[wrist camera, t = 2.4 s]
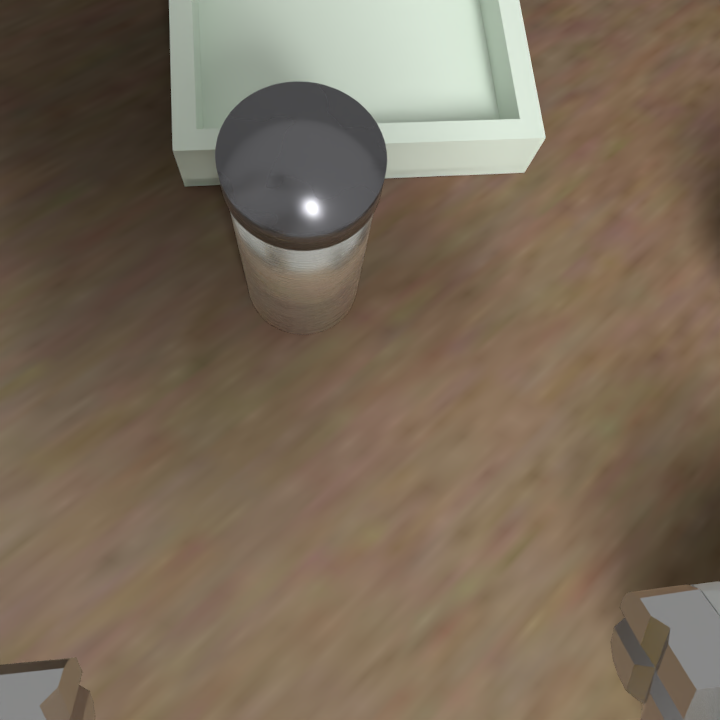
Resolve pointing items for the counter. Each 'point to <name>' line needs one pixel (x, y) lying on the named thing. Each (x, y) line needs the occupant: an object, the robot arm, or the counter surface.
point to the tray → (364, 76)
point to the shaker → (301, 199)
